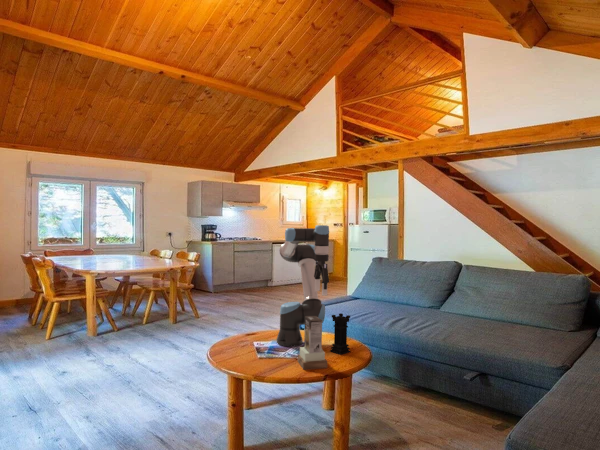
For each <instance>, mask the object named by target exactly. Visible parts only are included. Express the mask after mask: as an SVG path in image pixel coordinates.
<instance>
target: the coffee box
mask: <svg viewBox="0 0 600 450" xmlns="http://www.w3.org/2000/svg"><path fill="white" fill-rule="evenodd" d="M303 339H304V343H303V344H304V345H303V347H304V348H305V349H306V350H307V351H308V352H309V353H321V349H322V344H323V343H322V340H323V323H322V320H321V319H320V318H318V317H317V316H305V325H304V338H303Z"/></svg>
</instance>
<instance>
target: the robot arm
mask: <svg viewBox="0 0 600 450" xmlns="http://www.w3.org/2000/svg"><path fill="white" fill-rule="evenodd" d="M314 226H315V227H314V228H311V227H310V228H308V227H307V228H301V227H300V228H299V227H298V228H297V227H287V228H286V229H285V231H284V243H283V244H281V246H280V248H279V255H280V256H281V258H282V259H283V260H284V261H286V262H289V263H297V265H298V267H299V268H300V272H301V283H302V293H303V301H302V302H299V301H288V302H285V303H282V304H281V305H280V307H279V309H280V310H279V331H278V332H277V333H278V334H277V337H276V344H277V343H278V344H280V345H279V346H281V345H283V347H298V346H301V345H302V344H303V336H302V333H301V329H300V326H305V316H317V317H318V318H320V319H321V320H322V324H323V323H324V321H325V318H326V306H325V304H324V303H322V300H321V299H320V298H319V295H318V292H321V296H323V297H324V296H328V283H330V278H329V270H328V269H329V268H328V264H327V263H326V262H329V256H330V255H329V251H330V246H329V245H330V226H329V225H328V224H326V225H325V224H324V225H323V224H322V225H319V224H317V225H314ZM301 242H302V243H304V242H307V243H308V244H299V243H301ZM309 243H314V244H309ZM321 280H322V281H321ZM320 290H321V291H320ZM278 344H277V345H278Z"/></svg>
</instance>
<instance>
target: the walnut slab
mask: <svg viewBox="0 0 600 450" xmlns="http://www.w3.org/2000/svg"><path fill="white" fill-rule="evenodd" d="M297 363H298V364H299V366H300V367H301V368H302V370H304V371H306V370H307V371H308V370H319V369H321V370H323V369H328V360H327V359H326V358H325V360H321V361H308V362H305V361H304V360H303V358H302V357H301V356H300V354H297Z"/></svg>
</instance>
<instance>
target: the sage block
mask: <svg viewBox="0 0 600 450" xmlns="http://www.w3.org/2000/svg"><path fill="white" fill-rule="evenodd" d="M299 355H300V356H301V357H302V358H303V360H304V361H305V362H308V361H321V360H325V359H326V358H325V357H326V351H324V350H323V348H321V353H309V352H308V351H307V350H306V349H305V348H304V346H299Z"/></svg>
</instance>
